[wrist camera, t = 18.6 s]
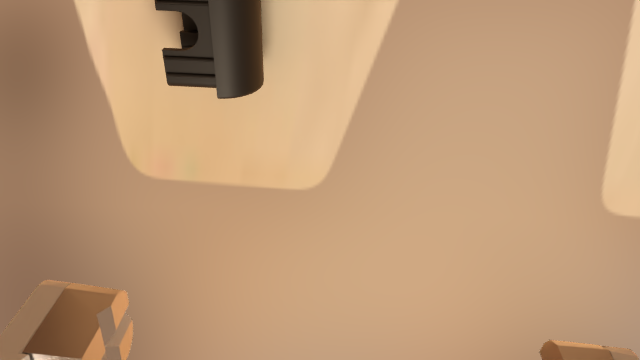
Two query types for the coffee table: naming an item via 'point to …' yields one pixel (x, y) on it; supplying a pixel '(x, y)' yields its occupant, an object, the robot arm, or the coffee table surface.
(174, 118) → the coffee table surface
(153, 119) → the coffee table surface
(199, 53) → the end cap
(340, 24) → the coffee table surface
